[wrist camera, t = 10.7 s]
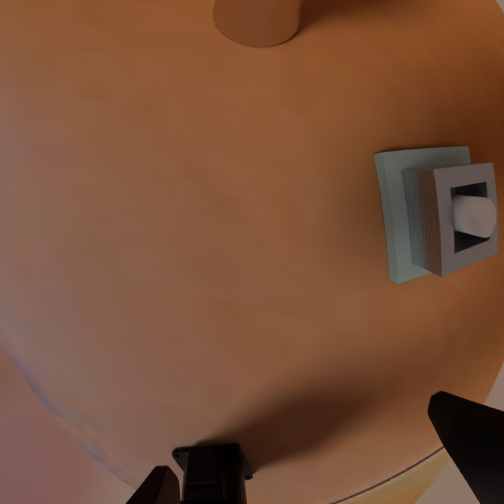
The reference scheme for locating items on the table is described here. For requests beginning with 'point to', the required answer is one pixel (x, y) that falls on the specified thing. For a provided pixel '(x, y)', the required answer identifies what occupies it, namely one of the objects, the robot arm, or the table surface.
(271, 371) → the table surface
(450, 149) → the shaft block
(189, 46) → the table surface
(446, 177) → the square ring block
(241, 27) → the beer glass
